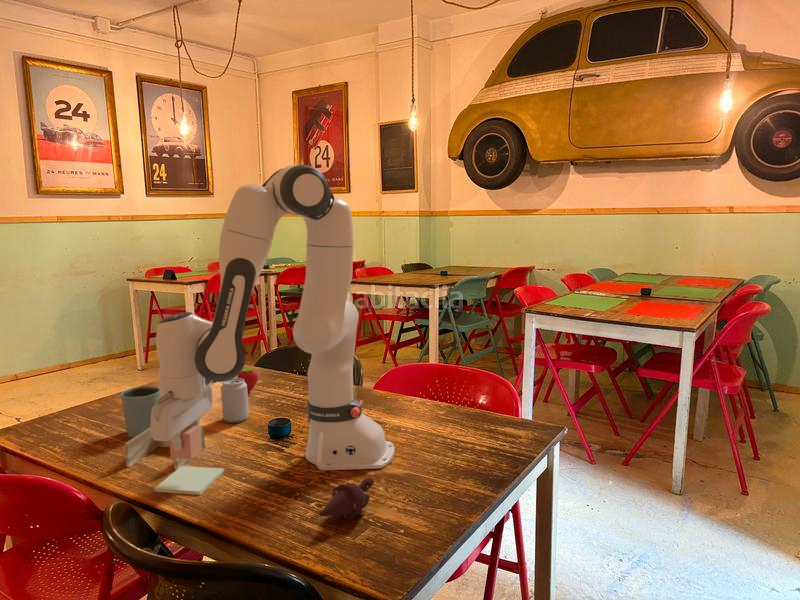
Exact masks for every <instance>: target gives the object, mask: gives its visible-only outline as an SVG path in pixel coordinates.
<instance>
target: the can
mask: <svg viewBox="0 0 800 600" xmlns="http://www.w3.org/2000/svg"><path fill="white" fill-rule="evenodd" d="M248 393H249V392H247V384H246V383H245V382H244V379H242V378H237V377H234V378H233V379H231V380H228V381H224V382H222V385H221V386H220V395H221V409H222V419H223V420H225V422H226V423H231V424H236V423H237V424H238V423H241V422H244V421H246V420H247V419H248V418H249V416H250V407H249V397H248V396H249V395H248Z"/></svg>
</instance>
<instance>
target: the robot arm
mask: <svg viewBox="0 0 800 600" xmlns="http://www.w3.org/2000/svg"><path fill="white" fill-rule="evenodd" d="M285 215H292V216H301V218H302V219H303V220H304V222H305V227H306V230H307V231H306V233H307V234H306V254H305V257H306V258H305V259H306V260H305V278H304V279H305V280H304V286H303V290H302V294H301V299H300V305H299V309H298V314H297V315H298V316H297V317H296V320H295V322H294V325H293V327H292V336H293V339H294V340H293V341H294V342H295V344H296V345H297V348H298V349H300V350H301V351H304V352H305V353H307V354H311V358H310V363H309V366H308V369H307V386H308V400H307V407H306V408H307V410H306V411H307V413H306V414H307V418H308V419H307V420H308V421H307V422H308V423H309V429H308V431H309V432H308V441H307V446H306V451H305V454H304V456H305V459H306V460H307V461H308V462H309V463H312V464H313V465H315V466H316V468H318V470H319V471H340V470H341V471H343V470H345V471H346V470H347V471H348V470H370V469H371V470H372V469H382V468H385V467H386V466H387V465H388V464H390V463H391V462H392V461H393V459H394V457H395V452H396V449H395V445H394V443H393V442H391V441H388V440H386V436H385V432H384V431H385V430H384V429H383V426H381V425H380V424H379V423H377V422H376V421H374V420H373V419H371V418H370V417H369V416H368V415H366V414H364V413H363V399H360V401H359V400H358V399H356V398H355V397H354V374H353V373H354V372H353V371H354V370H353V369H354V357H355V352H356V350H355V349H356V341H357V340H356V338H357V328H358V323H359V318H360V317H359V311H358V309H357V306H356V305H355V304H354V303H353V302H351V301H350V300H349V299H348V295H349V294H348V293H349V289H350V286H351V283H352V280H353V269H354V268H353V265H354V264H353V262H354V225H353V218H352V212H351V207H350V205H349V204H348V203H347V202H346V201H344V200H343V199H340V198H338V197H335V195H334V193H333V192H332V190H331V188H330V186H329V183H328V180H327V178H326V176H324V174H323V173H322V172H321V171H320V169H316V168H315V167H314V166H311V165H307V164H291V165H287V166H286V167H284V168H280V169H278V170H276V171H275V172H274V173H272V174H271V175H270V176H269V178H268V179H267V180H266V181H265V182H264V183H263V184H262V185H258V184H245V185H242V186H240V187H238V188H237V189H236V191H235V192H234V195H233V197H232V199H231V201H230V203H229V205H228V209H227V212H226V214H225V217H224V221H223V225H222V229H221V232H220V238H219V247H218V263H219V264H218V265H219V273H220V274H219V275H220V288H219V295H218V299H217V304H216V307H215V312H214V315H213V320H212V321H210V320H207V319H204V318H202V317H201V316H200V317H199V316H198V315H196V314H195V313H194V312H190V311H183V312H177V313H173V314H170V315H168V316H165V317H164V318H163V319H161V320H160V321H159V323H158V324H157V329H156V336H155V337H156V340H155V341H156V355H157V359H158V361H159V370H158V380H159V381H158V383H159V388H160V397H159V398H158V399H157V402H156V403H155V405H154V407H153V408H152V412H151V437H152V438H153V439H154V440H156V441H168V440H171V441H172V443H173V449H174V450H181V449H182V448H183V447H184V440H181V439H180V437H179V436H180V435H181V431H182V430H183V429H185V428H186V427H188V426H189V425H190V426H200V421H201V420H200V418H201V417H203V416H204V415H205V414H207V413H209V412H210V411H211V410H212V409H213V405H214V404H213V403H214V394H213V390H214V389H213V385H212V383H213V382H215V383H216V382H217V383H223V382H224V381H228V380H231V379H233V378H237V376H238V374H239V373H240V372H241V371H242V370H243V369H244V367H245V365H246V352H245V348H244V343H243V342H244V341H243V333H244V328H245V327H244V326H245V323H246V318H247V314H248V309H249V305H250V302H251V296H252V293H253V290H254V289H255V286H256V284H257V281H258V279H259V277H260V275H261V273H262V270H263V268H264V266H265V264H266V262H267V259H268V257H269V254H270V251H271V248H272V243H273V240H274V235H275V230H276V227H277V225H278V222H279V221H280V220H281V218H282V217H283V216H285Z"/></svg>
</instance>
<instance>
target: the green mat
mask: <svg viewBox="0 0 800 600" xmlns="http://www.w3.org/2000/svg"><path fill="white" fill-rule="evenodd" d="M224 472H225V468H221V467H219V468H218V467H205V466H204V467H203V466H202V467H201V466H185V465H183V466H181V467H180V468H178V469H177V470H174V472H172V473H171V474H170V475H168V476H167V477H166V478H165V479H163V481H161V482H160V483H159V484H158V485H157V486H155V487H154V492H155V493H165V492H166V493H167V494H169V493H170V494H182V495H183V494H184V495H197V496H198V495H199V496H200V495H203V493H204V492H205V491H206V490H207V489H208V488H209V487H210V486H211V485H213V483H214V482H215V481H216V480H217V479H218V478H220V476H221V475H222V474H223V473H224Z"/></svg>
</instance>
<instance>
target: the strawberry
mask: <svg viewBox="0 0 800 600" xmlns="http://www.w3.org/2000/svg"><path fill="white" fill-rule="evenodd" d="M244 367H245V368H243V369H242V371H241V372H240V373H239V374H238V375H237V376H236V378H242V379H244V382H245V383H246V384H247V393H250V392H252V390H253V389H254V387H255V386H256V385H257V383H258V379H259V376H258V373H256V371H255V369H254V368H251V367H249V368H247V366H246V365H244Z"/></svg>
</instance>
